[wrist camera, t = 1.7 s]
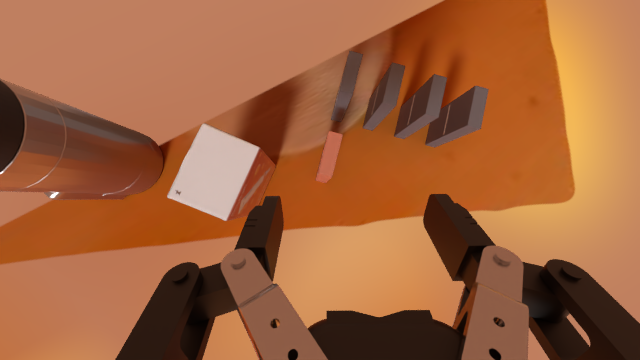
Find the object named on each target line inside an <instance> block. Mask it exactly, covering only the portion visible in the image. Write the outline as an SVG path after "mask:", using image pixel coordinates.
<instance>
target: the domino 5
mask: <svg viewBox="0 0 640 360" xmlns="http://www.w3.org/2000/svg"><path fill="white" fill-rule="evenodd" d="M487 94H488V89H486V88H482V87H479V86H474V87H473V88H471V89H470V90H469V91H467V92H466V93H464V94H463V95H461V96H460V97H458V98H457V99H455V100H454V101H452V102H451V103H449V104H448V105H446V106H445V107H443V108H442V109H440V113H439V117H438V118H437V119H435V120H434V121H432V122H430V126H429V130H428V135H427V139H426V144H425V145H428V146H432V147H437V146H439V145H442V144H444V143H447V142H449V141H452V140H454V139H457V138H459V137H462V136H464V135H466V134H469V133H471V132H474V131H476V130H479V129H481V124H482V119H483V114H484V109H485V104H486V99H487Z"/></svg>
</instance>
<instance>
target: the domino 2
mask: <svg viewBox="0 0 640 360" xmlns="http://www.w3.org/2000/svg"><path fill="white" fill-rule="evenodd" d="M362 56H363V54H360V53H357V52H353V51H349V55H348V58H347V62H346V66H345V69H344V73H343V76H342V80H341V83H340V87H339V91H338V94H337V98H336V102H335V106H334V110H333V114H332V118H331V120H335V121H338V122H341V120H342V118H343V116H344V113H345V111H346V109H347V106H348V104H349V102H350V99H351V97H352V95H353V91H354V87H355V83H356V79H357V75H358V71H359V67H360V64H361V60H362Z"/></svg>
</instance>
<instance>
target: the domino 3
mask: <svg viewBox="0 0 640 360" xmlns="http://www.w3.org/2000/svg"><path fill="white" fill-rule="evenodd" d="M404 70H405V66H403V65H400V64H396V63H393V62H392V64H391V65H390V67H389V69H388V70H387V72H386V73H385V75H384V77H383V78H382V80H381V81H380V83H379V85H378V86H377V88H376V90H375V91H374V93H373V94H372V96H371V98H370V100H369V104H368V108H367V112H366V117H365V121H364V125H363V128H365V129H368V130H373V129H374V128H375V127H376V126H377V125H378V124H379V123H380V122H381V121H382V120H383V119H384V118H385V117H386V116H387V115H388V114H389V113H390V112H391V110H392V109H393V108H394V107H395V106H396V104H397V99H398V95H399V91H400V87H401V82H402V78H403V74H404Z"/></svg>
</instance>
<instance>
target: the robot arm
mask: <svg viewBox="0 0 640 360" xmlns="http://www.w3.org/2000/svg"><path fill="white" fill-rule="evenodd" d="M162 168H163V155H162V152H161V150H160V148H159V146H158V145H157V144H156V142H155V141H153V140H152V139H151V138H150V137H148V136H145V135H144V134H141V133H139V132H136V131H134V130H131V129H128V128H126V127H123V126H121V125H118V124H115V123H113V122H110V121H108V120H105V119H103V118H100V117H97V116H95V115H92V114H89V113H87V112H84V111H82V110H79V109H77V108H74V107H72V106H69V105H67V104H64V103H61V102H59V101H56V100H54V99H51V98H48V97H46V96H43V95H41V94H38V93H35V92H33V91H30V90H28V89H25V88H23V87H20V86H17V85H15V84H12V83H9V82H7V81H4V80H2V79H0V191H12V192H13V191H15V192H44V193H45V194H46V195H47V196H48V197H49V198H51V199H54V200H85V199H124V198H125V197H126V196H127V195H130V194H137V193H140V192H143V191H145V190H147V189H148V188H150V187H151V186H152V185H153V184H154V183H155V182H156V181H157V180H158V178H159V177H160V174H161V172H162ZM423 222H424V227H425V229H426V231H427V233H428V234H429V236H430V238H431V240H432V242H433V244H434V246H435V248H436V250H437V252H438V253H439V256H440V257H441V259H442V261H443V263H444V265H445V267H446V269H447V271H448V272H449V275H450V276H451V278H452V280H453V281H463V282H464V283H465V286H464V289H463V292H462V296H461V299H460V303H459V306H458V310H457V313H456V317H455V321H454V324H453V326H452V327H451V326H449V325H447V324H445V323H443V322H440V321H437V320H434V319H432V315H431V313H430V310H404V311H400V312H397V313H394V314H390V315H387V316H384V317H374V316H371V315H367V314H363V313H359V312H355V311H327V319H324V320H321V321H319V322H317V323H315V324H313V325H312V326H310V327H309V328H308V329H307V328H306V326H305V325H304V323H303V321H302V320H301V318H300V317H299V315H298V314H297V312H296V311H295V310H294V308H293V306H292V305H291V304H290V302H289V300H288V299H287V297H286V296H285V294H284V293H283V291H282V290H281V288H280V287H279V286H278V285H277V284H273V283H272V281H273V278H274V273H275V267H276V262H277V257H278V252H279V247H280V242H281V237H282V232H283V212H282V205H281V199H280V196H266V197H265V199H264V202H263V205H262V206H255V207H254V208H253V209H252V210H251V211H250V212H249V215H248V217H247V221H246V222H245V225H244V227H243V230H242V232H241V235H240V237H239V240H238V242H237V245H236V247H235V250H234V251H232V252H230V253H229V254H227V255H226V256H225V257H224V258H223V260H222V262H221V263H219V264H215V265H212V266H208V267H205V268H201V269H199V267H198V265H197V264H195V263H191V262H187V263H182V264H179V265H177V266H175V267H173V268H172V269H170V270H169V271H168V272H167V273H166V274H165V275H164V277H163V278H162V280H161V282H160V283H159V285H158V287H157V289H156V290H155V292H154V294H153V296H152V297H151V299H150V301H149V302H148V304H147V306H146V308H145V309H144V311H143V313H142V314H141V316H140V318H139V320H138V321H137V323H136V325H135V327H134V328H133V330H132V332H131V334H130V335H129V337H128V339H127V340H126V342H125V344H124V346H123V347H122V349H121V351H120V353H119V354H118V356H117V358H116V360H202V358H203V355H204V352H205V349H206V346H207V342H208V339H209V336H210V333H211V330H212V326H213V323H214V320H215V317H216V316H219V315H222V314H225V313H228V312H231V311H234V310H237V311H238V313H239V316H240V318H241V320H242V322H243V324H244V327H245V329H246V331H247V333H248V336H249V338H250V339H251V342H252V344H253V347H254V349H255V352H256V354H257V356H258V358H259V360H528V326H529V328H530V330H531V331H532V333H533V334H534V336H535V337H536V339H537V340H538V342H539V344H540V345H541V347H542V348H543V350H544V351H545V353H546V354H547V356H548V358H549V359H550V360H640V324H639V323H638V322H637V321H636V320H635V319H634V318H633V317H632V316H631V315H630V314H629V313H628V312H627V311H626V310H625V309H624V308H623V307H622V306H621V305H620V304H619V303H618V302H617V301H616V300H615V299H614V298H613V297H612V296H610V294H609V293H608V292H606V290H605V289H604V288H602V287H601V286H600V285H599V284H598V283H597V282H596V281H595V280H594V279H593V278H592V277H591V276H590V275H589V274H588V273H587V272H585V271H584V270H583V269H581V268H580V267H578V266H576V265H574V264H572V263H569V262H567V261H563V260H557V259H553V260H549V261H548V262H547V263H546V265H545V266H544V267H542V266H538V265H534V264H529V263H525V262H522V261H521V260H520V258H519V257H518V256H516V255H515V254H514V253H512V252H511V251H509V250H507V249H505V248H502V247H499V246H496V245H495V244H494V243H493V242H492V241H491V239H490V238H489V237H488V236H487V234H486V233H485V232H484V230H483V229H482V228H481V227H480V226H479V225H478V224H477V222H476V221H475V220H474V219H473V218H472V216H471V214H469V212H468V211H467V210H466V209H465V208H463V207H462V206H461V205H459V204H458V203H454V202H453V201H452V200H451V198H450V197H449V196H448V195H447V194H431V195H430V196H429V199H428V203H427V206H426V210H425V213H424V219H423ZM569 314H571V315H572V316H573V317H574V318H575V320H576V321H577V322H578V324H579V325H580V326H581V327H582V328H583V330H584V331H585V332H586V333H587V335H588V337H589V339H590V344H591V345H590V347H589V345H588V344H587V343H586V342H585V340H584V339H583V338H582V337H581V335H580V334H579V333H578V332H577V330H576V329H575V328H574V327H573V325H572V324H571V323H570V321H569V320H568V319H567V318H566V317H567V316H568V315H569Z"/></svg>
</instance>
